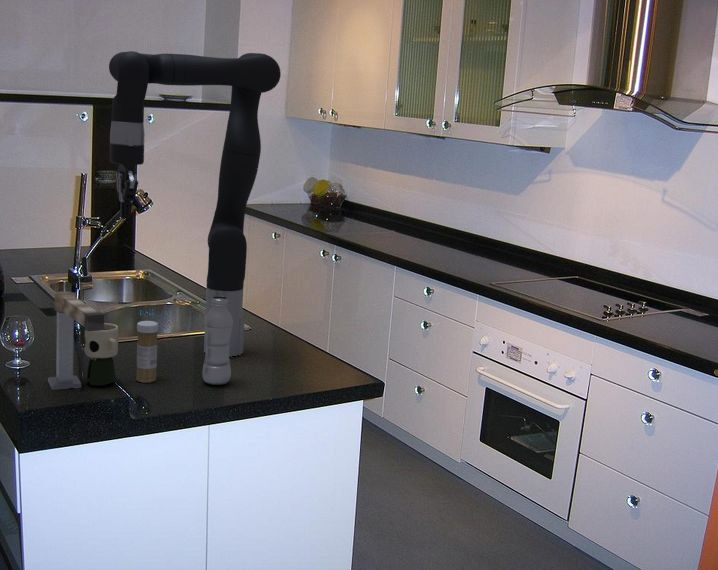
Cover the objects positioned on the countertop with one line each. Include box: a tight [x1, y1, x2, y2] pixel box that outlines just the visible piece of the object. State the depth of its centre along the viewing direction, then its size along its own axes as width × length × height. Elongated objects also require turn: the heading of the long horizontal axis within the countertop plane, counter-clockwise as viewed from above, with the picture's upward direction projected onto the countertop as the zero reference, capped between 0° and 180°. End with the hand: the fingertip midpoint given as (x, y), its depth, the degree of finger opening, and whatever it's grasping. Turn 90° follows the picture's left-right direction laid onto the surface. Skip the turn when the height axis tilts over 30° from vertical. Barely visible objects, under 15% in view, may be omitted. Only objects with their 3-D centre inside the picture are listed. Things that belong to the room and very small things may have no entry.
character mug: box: [83, 322, 119, 386], centre depth 190 cm, size 11×7×13 cm, turn 48°
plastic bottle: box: [202, 296, 233, 386], centre depth 195 cm, size 6×7×20 cm
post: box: [47, 311, 82, 391], centre depth 187 cm, size 6×6×16 cm
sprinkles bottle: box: [135, 320, 159, 384], centre depth 195 cm, size 5×5×14 cm
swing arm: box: [53, 291, 105, 331], centre depth 178 cm, size 22×4×4 cm, turn 36°
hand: (125, 218), depth 199 cm, fingers closed
